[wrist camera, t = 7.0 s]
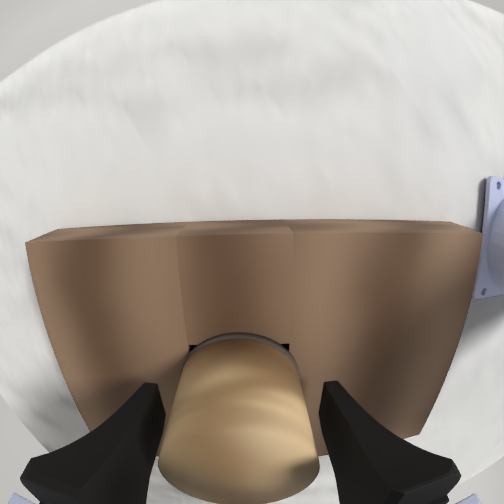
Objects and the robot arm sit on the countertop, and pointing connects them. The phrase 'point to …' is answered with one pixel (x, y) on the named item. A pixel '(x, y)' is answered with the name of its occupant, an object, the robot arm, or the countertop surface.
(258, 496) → the oak peg
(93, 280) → the walnut board
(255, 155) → the countertop surface
